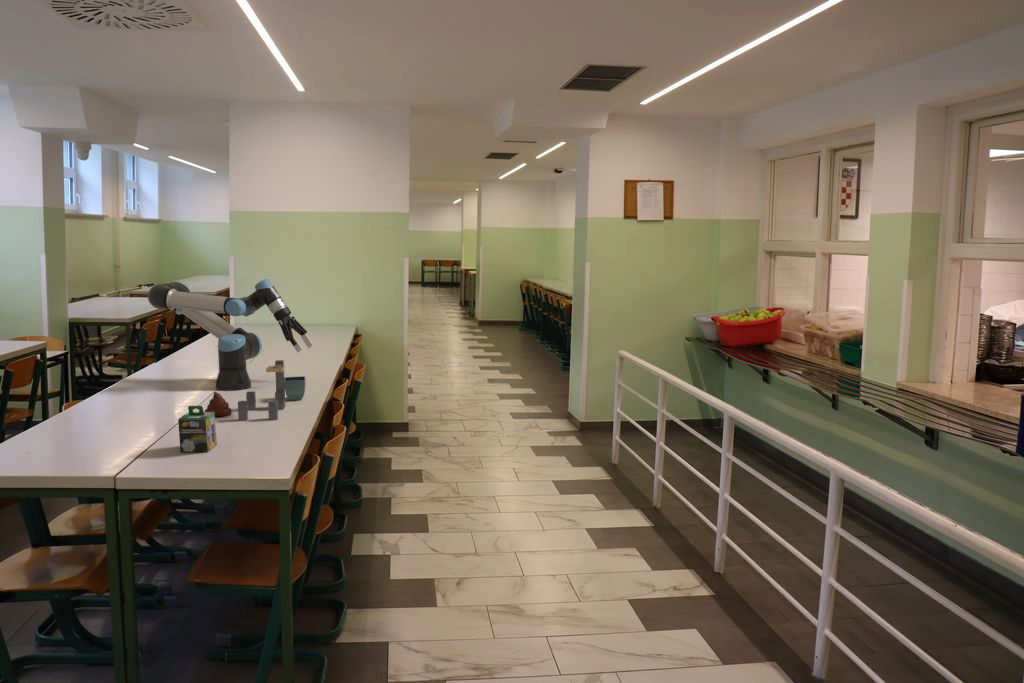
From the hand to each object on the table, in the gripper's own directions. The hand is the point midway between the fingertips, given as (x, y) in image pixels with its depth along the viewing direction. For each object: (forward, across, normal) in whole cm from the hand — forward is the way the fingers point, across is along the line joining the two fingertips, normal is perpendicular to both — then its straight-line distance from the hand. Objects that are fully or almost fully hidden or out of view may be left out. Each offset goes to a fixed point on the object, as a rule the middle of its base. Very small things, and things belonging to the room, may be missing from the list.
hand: (305, 348), depth 370 cm
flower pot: (+18, -32, +3) cm, 37 cm away
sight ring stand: (+19, -53, +2) cm, 57 cm away
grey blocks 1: (+14, -61, +10) cm, 63 cm away
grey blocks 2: (+20, -58, +1) cm, 61 cm away
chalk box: (+17, -109, +6) cm, 110 cm away
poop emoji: (+8, -64, +19) cm, 67 cm away
